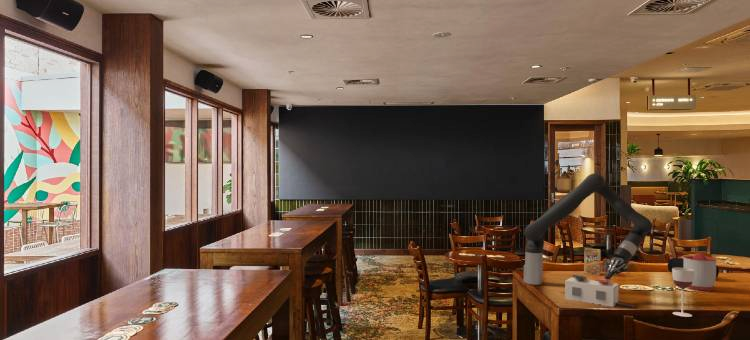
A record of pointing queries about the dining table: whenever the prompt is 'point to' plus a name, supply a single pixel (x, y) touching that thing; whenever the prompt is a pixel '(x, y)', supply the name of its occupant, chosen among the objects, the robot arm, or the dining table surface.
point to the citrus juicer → (701, 271)
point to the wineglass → (682, 284)
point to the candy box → (592, 261)
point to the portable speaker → (682, 264)
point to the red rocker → (603, 281)
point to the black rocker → (579, 277)
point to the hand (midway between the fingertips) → (606, 278)
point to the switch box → (592, 292)
